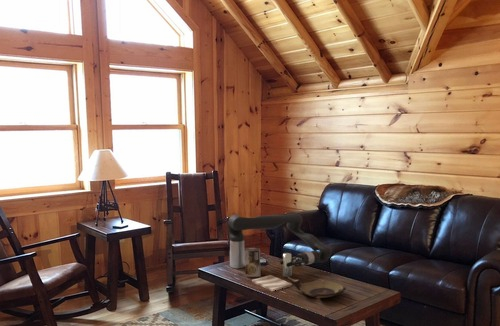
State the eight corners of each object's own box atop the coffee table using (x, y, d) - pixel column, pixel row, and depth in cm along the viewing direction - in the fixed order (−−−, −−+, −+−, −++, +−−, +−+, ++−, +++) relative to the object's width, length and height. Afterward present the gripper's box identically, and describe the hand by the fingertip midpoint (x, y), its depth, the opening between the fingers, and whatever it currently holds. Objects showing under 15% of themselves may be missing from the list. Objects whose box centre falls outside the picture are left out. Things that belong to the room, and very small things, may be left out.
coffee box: (260, 273, 265) (260, 247, 264) (260, 277, 259) (259, 250, 258) (246, 273, 266) (245, 247, 265) (244, 276, 260) (244, 250, 259)
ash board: (251, 281, 250) (251, 279, 250) (271, 277, 258) (270, 275, 258) (272, 291, 235) (272, 289, 235) (291, 285, 243) (291, 283, 243)
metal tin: (281, 275, 258) (281, 253, 257) (287, 273, 261) (287, 252, 260) (286, 277, 254) (286, 255, 253) (293, 275, 257) (293, 254, 256)
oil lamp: (329, 308, 212) (329, 293, 211) (282, 293, 233) (282, 279, 232) (353, 295, 228) (353, 281, 227) (307, 282, 249) (307, 269, 248)
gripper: (297, 250, 270) (276, 254, 261) (313, 255, 259) (291, 260, 249) (297, 261, 271) (276, 267, 261) (313, 267, 259) (291, 273, 250)
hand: (283, 263), depth 255 cm, fingers closed on metal tin, 5 cm apart
